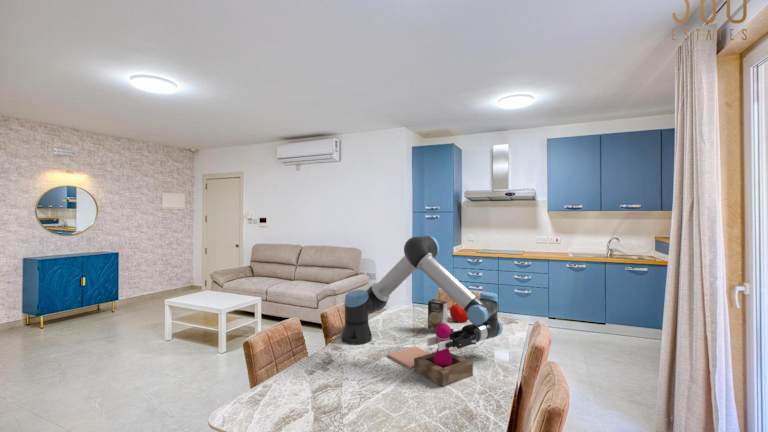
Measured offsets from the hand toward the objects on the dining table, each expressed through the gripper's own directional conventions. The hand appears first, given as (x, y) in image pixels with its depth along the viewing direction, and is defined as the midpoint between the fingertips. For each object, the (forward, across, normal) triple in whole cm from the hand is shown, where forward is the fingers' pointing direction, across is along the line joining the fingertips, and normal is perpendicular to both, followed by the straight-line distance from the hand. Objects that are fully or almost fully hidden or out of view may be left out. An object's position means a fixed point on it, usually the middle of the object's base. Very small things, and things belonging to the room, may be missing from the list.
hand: (433, 344), depth 134 cm
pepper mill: (-5, 0, -12) cm, 13 cm away
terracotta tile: (-5, +18, -12) cm, 22 cm away
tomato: (-63, +44, -13) cm, 78 cm away
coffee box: (-39, +38, -13) cm, 56 cm away
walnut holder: (-5, 0, -12) cm, 13 cm away
